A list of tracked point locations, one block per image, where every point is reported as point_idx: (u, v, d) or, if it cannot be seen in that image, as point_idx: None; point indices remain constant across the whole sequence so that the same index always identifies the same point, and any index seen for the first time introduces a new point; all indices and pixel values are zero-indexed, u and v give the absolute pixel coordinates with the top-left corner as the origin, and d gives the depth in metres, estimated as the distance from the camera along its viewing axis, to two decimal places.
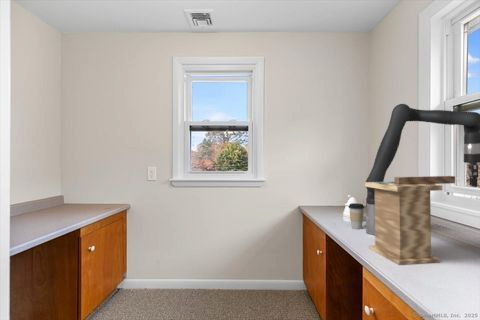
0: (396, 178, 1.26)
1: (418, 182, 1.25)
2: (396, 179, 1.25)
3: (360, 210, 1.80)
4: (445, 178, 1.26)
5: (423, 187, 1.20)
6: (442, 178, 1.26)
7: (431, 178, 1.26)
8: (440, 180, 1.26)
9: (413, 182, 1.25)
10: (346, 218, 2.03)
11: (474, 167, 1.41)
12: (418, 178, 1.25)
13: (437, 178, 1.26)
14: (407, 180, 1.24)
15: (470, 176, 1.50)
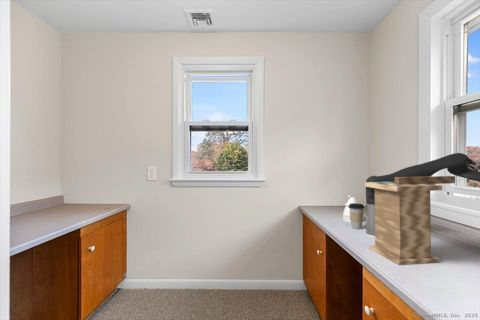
0: (396, 178, 1.26)
1: (418, 182, 1.25)
2: (396, 179, 1.25)
3: (360, 210, 1.80)
4: (445, 178, 1.26)
5: (423, 187, 1.20)
6: (442, 178, 1.26)
7: (431, 178, 1.26)
8: (440, 180, 1.26)
9: (413, 182, 1.25)
10: (346, 218, 2.03)
11: None
12: (418, 178, 1.25)
13: (437, 178, 1.26)
14: (407, 180, 1.24)
15: (472, 161, 1.34)
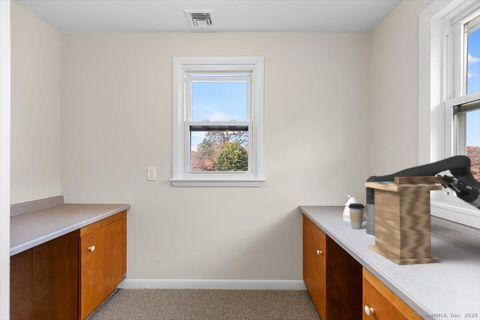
0: (396, 178, 1.26)
1: (418, 182, 1.25)
2: (396, 179, 1.25)
3: (360, 210, 1.80)
4: None
5: (423, 187, 1.20)
6: (442, 178, 1.26)
7: (431, 178, 1.26)
8: (440, 180, 1.26)
9: (413, 182, 1.25)
10: (346, 218, 2.03)
11: (469, 186, 1.23)
12: (418, 178, 1.25)
13: (437, 178, 1.26)
14: (407, 180, 1.24)
15: None
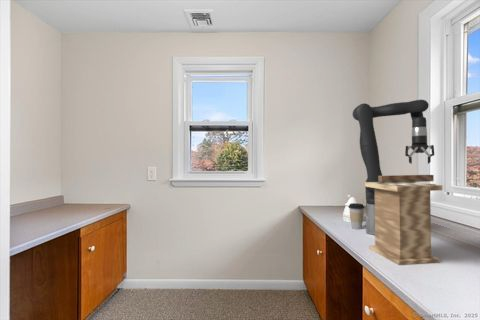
0: (379, 176, 1.37)
1: (399, 180, 1.37)
2: (380, 177, 1.37)
3: (360, 210, 1.80)
4: (424, 176, 1.38)
5: (423, 187, 1.20)
6: (421, 176, 1.38)
7: (411, 176, 1.38)
8: (420, 179, 1.38)
9: (395, 180, 1.37)
10: (346, 218, 2.03)
11: (433, 147, 1.65)
12: (399, 176, 1.37)
13: (417, 176, 1.38)
14: (389, 178, 1.36)
15: None
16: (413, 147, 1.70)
